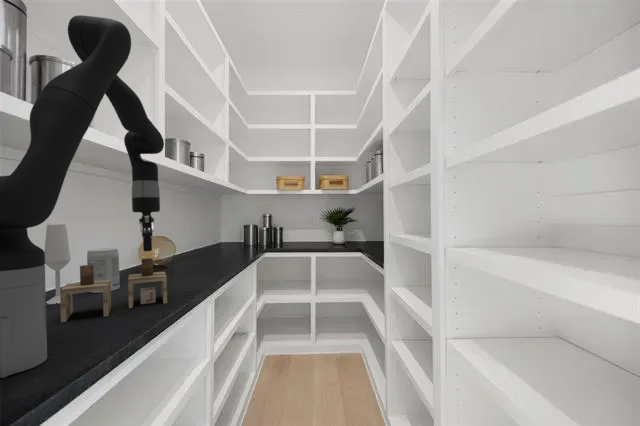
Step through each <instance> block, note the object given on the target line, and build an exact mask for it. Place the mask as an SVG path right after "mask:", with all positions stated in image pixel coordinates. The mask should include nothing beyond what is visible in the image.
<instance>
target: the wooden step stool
mask: <svg viewBox="0 0 640 426" xmlns="http://www.w3.org/2000/svg"><path fill="white" fill-rule="evenodd" d="M93 291H103V293H102V299H103V300H102V301H103V302H102V305H103V307H102V308H103V310H102V311H103V318H104V317H109V314H110V311H111V309H112V291H111V279H109V280H98V281H94V267H93V265H87V264H84V265H79V282H78V281H77V282H68V283H67V284H65V285H64V286H63V287H62V288H60V303H59V304H60V305H59V306H60V307H59V308H60V323H66V322H67V321H68V319H69V318H70V316H71V315H72V314H73V312H74V307H73V306H74V305H73V301H74V300H73V297H74V295H75V294H81V293H82V294H83V293H91V292H93ZM73 294H74V295H73Z"/></svg>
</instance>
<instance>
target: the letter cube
mask: <svg viewBox="0 0 640 426" xmlns="http://www.w3.org/2000/svg"><path fill="white" fill-rule="evenodd" d="M139 291H140V294H139V295H140V305H146V304H154V303H156V301H157V300H156V299H157V296H156V287H155V286H152V287H142V288H140V290H139Z"/></svg>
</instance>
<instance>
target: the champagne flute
mask: <svg viewBox="0 0 640 426" xmlns="http://www.w3.org/2000/svg"><path fill="white" fill-rule="evenodd" d="M45 231H46V232H45V240H44V241H45V243H44V250H43V251H44V253H45V266H47V267H48V268H49V269H51V270H53V271H54V273H55V279H54V280H55V296H53V297H51V298H50V299H48V300H46V303H47V304H46V305H56V303H57V304H60V290H61V270H63V269H64V268H65V267H66V266H67V265H68V264H69V262H70V261H71V252H70V251H71V250H70V244H69V238H68V237H69V236H68V230H67V224H63V223H62V224H59V223H58V224H46V230H45Z"/></svg>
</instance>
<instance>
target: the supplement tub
mask: <svg viewBox="0 0 640 426" xmlns="http://www.w3.org/2000/svg"><path fill="white" fill-rule="evenodd" d="M86 253H87V254H86V255H87V256H86V260H87V261H86V262H87V263H86V265H93V267H94V281H98V280H109V279H111V292H113V291H117V290H119V289H120V286H121V282H120V279H121V278H120V256H119V255H120V254H119V253H120V252H119V249H118V248H117V247H105V248H95V249H89V250H88V249H87V252H86ZM90 293H92V294H103V291H93V292H90Z"/></svg>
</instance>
